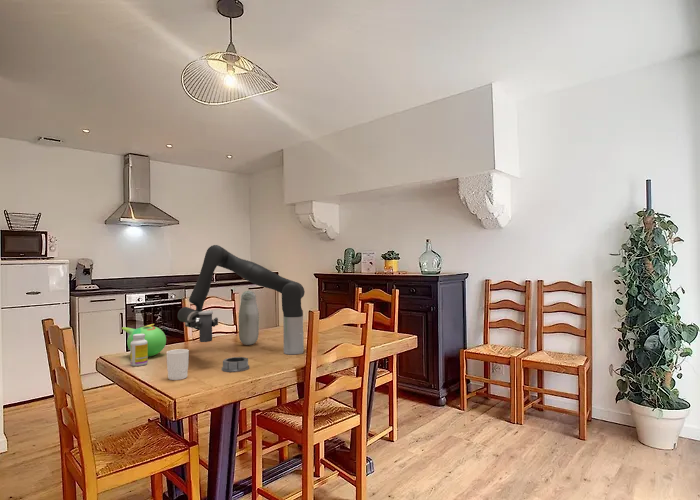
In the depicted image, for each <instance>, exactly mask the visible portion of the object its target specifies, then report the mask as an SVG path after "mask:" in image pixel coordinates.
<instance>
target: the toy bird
mask: <svg viewBox="0 0 700 500" xmlns="http://www.w3.org/2000/svg"><path fill="white" fill-rule="evenodd" d="M154 325H155V323H151V324H148V325H143V326H140V327H137V328H133V327H132V328H131V327H128V326H127V327H126V326H124V327H123V326H122V327H121V329H122V330H123V332H125V333H127V334H129V335H128V337H127V340H126V342H127V343H126V344H127V348H128V350H129V351H130V343H131V342H132V341H133V335H134V334H145V338H144V339H145V340H147V342H148V357H153V356H155V355H157V354H160V353H161V352H162V351H163V350H164V349H165V347H166V344H167V336H166V334H165V332H164V331H163V330H162V329H161V328H159V327H157V326H154Z"/></svg>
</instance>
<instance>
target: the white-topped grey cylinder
mask: <svg viewBox="0 0 700 500" xmlns="http://www.w3.org/2000/svg"><path fill="white" fill-rule="evenodd" d="M213 314H214V313H213V310H211V311H210V310H204V311H203V310H202V312H199V322H201V328H199V330H198V331H199V342H200V343H210V342H212V341H213V326H212V320H213Z"/></svg>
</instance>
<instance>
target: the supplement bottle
mask: <svg viewBox="0 0 700 500" xmlns="http://www.w3.org/2000/svg"><path fill="white" fill-rule="evenodd" d="M144 338H145V334H134V335H133V341H132V342H131V343H130V350H129V351H130V353H129V354H130V357H129V358H130V366H131V367H141V366H145V365H147V364H148V361H149V359H148V342H147V340H145V339H144Z"/></svg>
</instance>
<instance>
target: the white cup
mask: <svg viewBox="0 0 700 500" xmlns="http://www.w3.org/2000/svg"><path fill="white" fill-rule="evenodd" d="M189 351H190V350H189V349H187V348H178V349H171V350H166V368H167V377H168V378H167V379H168V380H170V381H180V380H183V379H184V380H185V379H186V378H188V374H189V373H188V370H189V360H190V359H189V355H190V352H189Z"/></svg>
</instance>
